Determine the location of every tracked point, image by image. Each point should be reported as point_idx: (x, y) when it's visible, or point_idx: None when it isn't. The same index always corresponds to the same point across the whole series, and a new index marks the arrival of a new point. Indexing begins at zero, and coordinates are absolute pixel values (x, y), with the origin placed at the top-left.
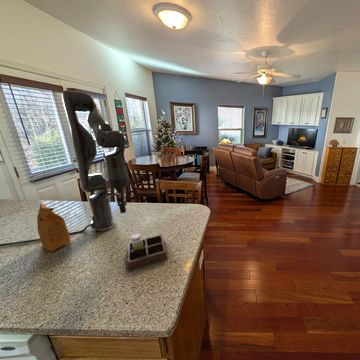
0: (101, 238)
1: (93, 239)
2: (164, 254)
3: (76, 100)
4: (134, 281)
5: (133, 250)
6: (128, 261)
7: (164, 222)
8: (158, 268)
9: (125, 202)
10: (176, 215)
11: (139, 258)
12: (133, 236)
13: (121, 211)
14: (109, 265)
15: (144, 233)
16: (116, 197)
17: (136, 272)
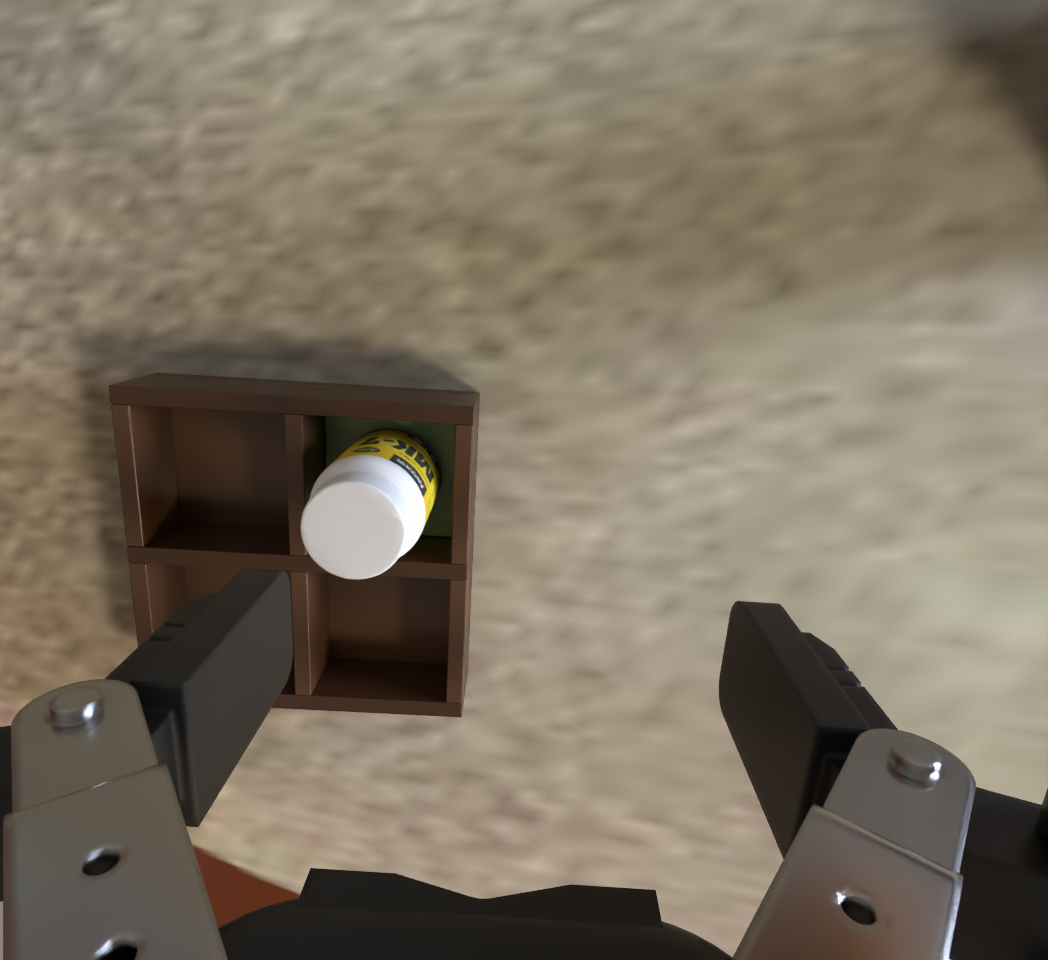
0: (905, 105)
1: (946, 10)
2: None
3: None
4: (7, 403)
5: (298, 447)
6: (129, 394)
7: None
8: (91, 581)
9: (738, 734)
10: None
11: (135, 488)
12: (356, 506)
13: (175, 617)
14: (313, 211)
15: (710, 544)
16: (9, 939)
17: (111, 425)
